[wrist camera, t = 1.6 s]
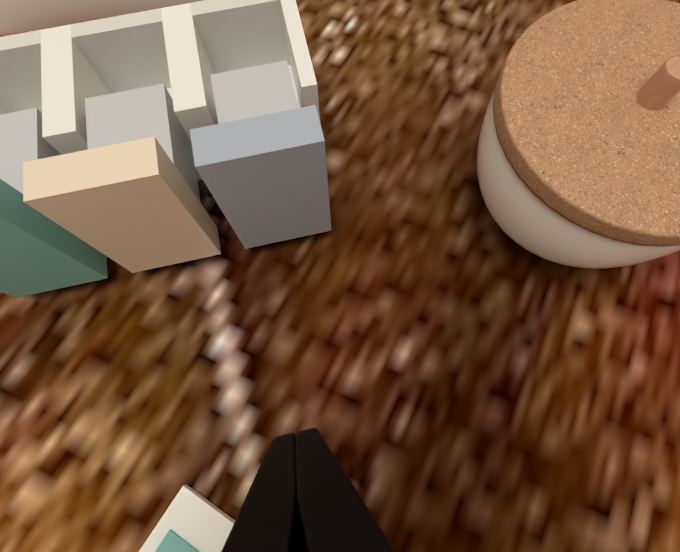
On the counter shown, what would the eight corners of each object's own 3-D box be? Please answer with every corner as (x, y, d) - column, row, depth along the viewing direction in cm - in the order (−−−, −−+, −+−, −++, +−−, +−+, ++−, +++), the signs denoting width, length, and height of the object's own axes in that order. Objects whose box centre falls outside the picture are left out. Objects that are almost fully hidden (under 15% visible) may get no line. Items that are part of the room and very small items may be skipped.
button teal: (107, 278, 21) (-15, 209, 14) (16, 297, 21) (-156, 237, 14) (100, 160, 23) (-10, 46, 16) (16, 176, 23) (-134, 69, 16)
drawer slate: (331, 230, 22) (324, 140, 15) (245, 248, 21) (194, 167, 14) (304, 119, 24) (287, -8, 17) (225, 135, 23) (173, 13, 16)
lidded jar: (410, 203, 23) (452, 73, 14) (529, 85, 25) (630, -93, 17) (577, 341, 21) (752, 287, 12) (692, 197, 23) (911, 61, 14)
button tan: (221, 254, 21) (158, 174, 14) (132, 273, 21) (23, 201, 14) (204, 139, 23) (141, 19, 16) (122, 155, 23) (23, 40, 16)
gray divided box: (323, 155, 24) (316, 84, 19) (18, 217, 23) (-77, 160, 18) (302, 71, 26) (291, -16, 21) (18, 125, 25) (-69, 49, 20)
